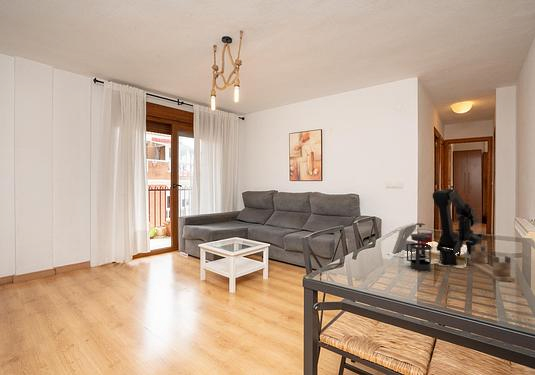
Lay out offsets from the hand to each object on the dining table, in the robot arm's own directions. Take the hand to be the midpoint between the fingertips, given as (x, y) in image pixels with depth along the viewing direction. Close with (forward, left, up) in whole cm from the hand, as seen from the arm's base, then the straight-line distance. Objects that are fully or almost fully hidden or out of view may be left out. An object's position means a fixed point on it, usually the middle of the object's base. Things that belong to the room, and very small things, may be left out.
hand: (464, 255), depth 156 cm
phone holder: (-31, +6, -1) cm, 32 cm away
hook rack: (-1, -24, -1) cm, 24 cm away
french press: (-31, -21, -1) cm, 37 cm away
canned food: (-14, +18, -1) cm, 23 cm away
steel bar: (0, 0, -1) cm, 1 cm away
